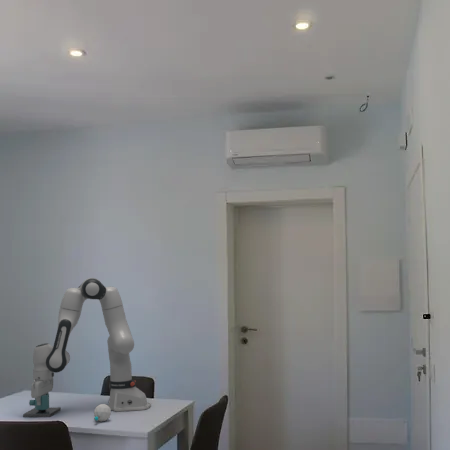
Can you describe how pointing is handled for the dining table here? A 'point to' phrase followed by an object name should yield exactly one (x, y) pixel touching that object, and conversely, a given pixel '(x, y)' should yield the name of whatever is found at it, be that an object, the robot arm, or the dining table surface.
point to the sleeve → (44, 402)
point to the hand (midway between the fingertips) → (42, 403)
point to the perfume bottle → (102, 412)
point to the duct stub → (42, 412)
